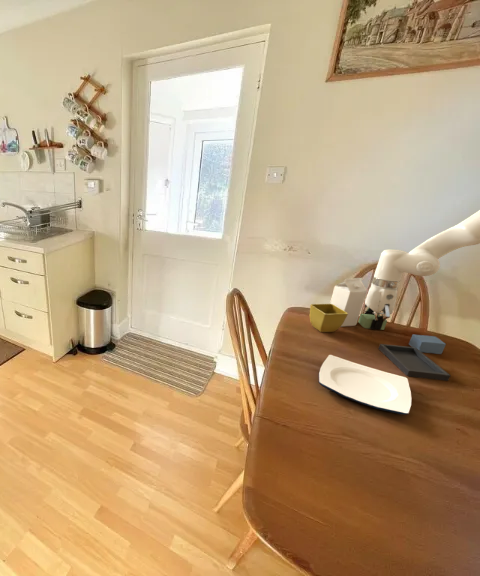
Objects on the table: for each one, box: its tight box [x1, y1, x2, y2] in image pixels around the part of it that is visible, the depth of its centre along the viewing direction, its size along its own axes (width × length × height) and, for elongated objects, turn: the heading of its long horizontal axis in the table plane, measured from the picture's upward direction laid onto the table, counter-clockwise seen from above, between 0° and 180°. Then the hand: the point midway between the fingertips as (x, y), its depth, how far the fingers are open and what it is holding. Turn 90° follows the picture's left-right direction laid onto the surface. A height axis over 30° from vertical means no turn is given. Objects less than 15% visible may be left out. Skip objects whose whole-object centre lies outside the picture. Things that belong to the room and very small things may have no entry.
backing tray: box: [378, 343, 451, 382], centre depth 100 cm, size 10×16×2 cm, turn 165°
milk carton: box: [329, 277, 368, 328], centre depth 123 cm, size 7×7×19 cm
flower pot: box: [308, 303, 348, 333], centre depth 120 cm, size 9×9×9 cm
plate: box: [318, 354, 412, 416], centre depth 90 cm, size 20×20×3 cm
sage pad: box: [357, 313, 388, 331], centre depth 123 cm, size 6×5×4 cm
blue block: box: [408, 334, 447, 355], centre depth 107 cm, size 6×5×4 cm
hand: (371, 324), depth 123 cm, fingers open, 5 cm apart
